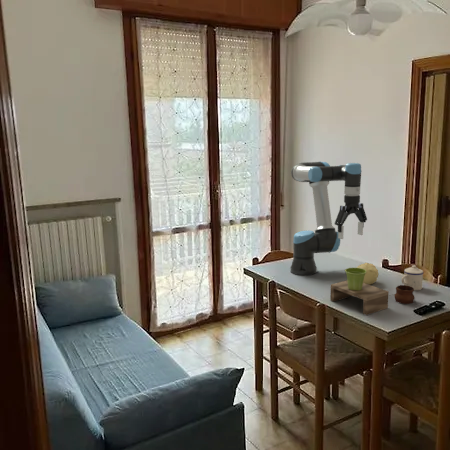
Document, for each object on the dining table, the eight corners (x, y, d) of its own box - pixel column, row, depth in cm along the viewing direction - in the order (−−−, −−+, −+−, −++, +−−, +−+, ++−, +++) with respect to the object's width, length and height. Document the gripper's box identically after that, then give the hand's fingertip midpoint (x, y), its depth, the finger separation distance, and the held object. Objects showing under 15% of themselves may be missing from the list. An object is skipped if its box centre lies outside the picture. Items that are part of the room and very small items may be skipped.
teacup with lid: (412, 283, 237) (413, 262, 234) (426, 289, 228) (427, 266, 226) (394, 287, 232) (395, 265, 230) (408, 292, 224) (409, 270, 222)
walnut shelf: (330, 300, 216) (330, 284, 215) (351, 294, 224) (351, 279, 222) (366, 315, 198) (367, 297, 196) (387, 308, 205) (388, 291, 204)
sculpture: (379, 286, 234) (380, 266, 232) (355, 285, 236) (356, 265, 234) (376, 279, 245) (377, 260, 243) (353, 279, 247) (354, 259, 245)
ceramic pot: (381, 294, 223) (382, 280, 222) (419, 295, 220) (420, 281, 219) (388, 308, 206) (389, 293, 204) (429, 310, 203) (430, 295, 202)
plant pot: (370, 289, 207) (370, 271, 205) (356, 293, 202) (356, 274, 200) (354, 284, 215) (354, 266, 213) (340, 288, 210) (340, 270, 208)
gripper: (339, 198, 214) (337, 241, 219) (375, 193, 226) (373, 234, 231) (328, 196, 220) (326, 238, 225) (364, 191, 233) (362, 231, 237)
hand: (350, 236), depth 228 cm, fingers open, 13 cm apart
